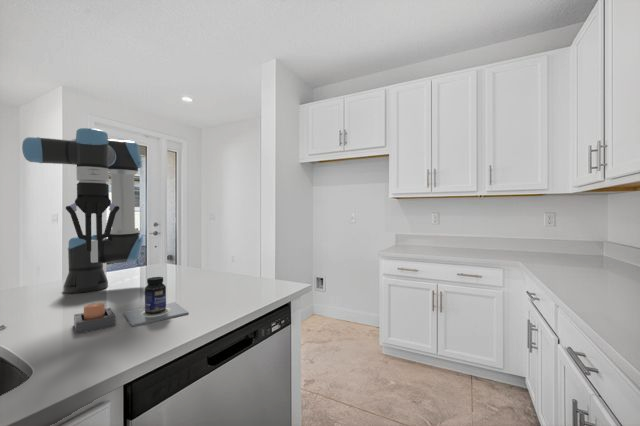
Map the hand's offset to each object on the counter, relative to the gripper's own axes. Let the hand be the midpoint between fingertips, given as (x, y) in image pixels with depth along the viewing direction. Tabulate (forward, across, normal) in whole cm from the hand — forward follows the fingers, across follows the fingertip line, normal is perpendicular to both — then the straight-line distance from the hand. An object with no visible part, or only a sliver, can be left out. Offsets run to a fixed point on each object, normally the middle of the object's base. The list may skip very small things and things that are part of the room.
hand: (94, 261), depth 89 cm
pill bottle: (+18, +16, -2) cm, 24 cm away
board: (+19, +16, -3) cm, 25 cm away
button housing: (+19, 0, -1) cm, 19 cm away
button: (+18, 0, -1) cm, 18 cm away
